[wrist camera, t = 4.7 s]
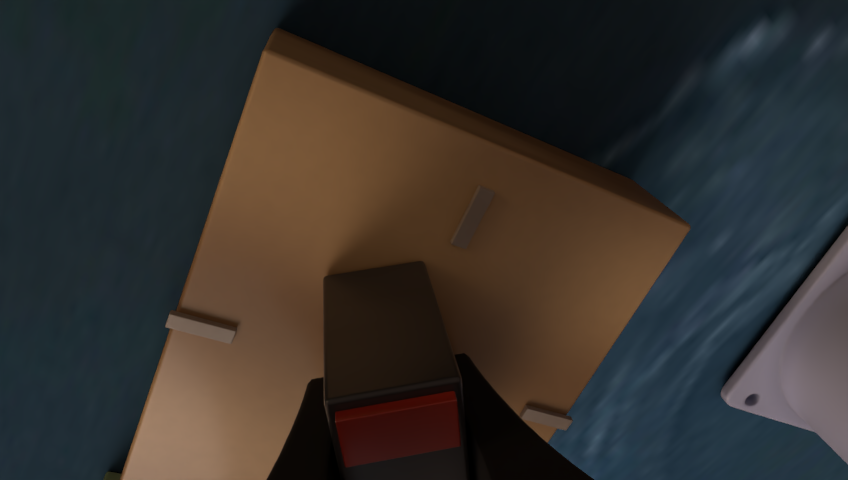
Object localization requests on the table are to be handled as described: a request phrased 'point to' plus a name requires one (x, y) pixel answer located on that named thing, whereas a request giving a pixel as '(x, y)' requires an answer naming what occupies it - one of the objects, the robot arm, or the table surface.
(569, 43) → the table surface
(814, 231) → the table surface
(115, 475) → the button box
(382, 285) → the red-striped dark box
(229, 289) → the control panel
